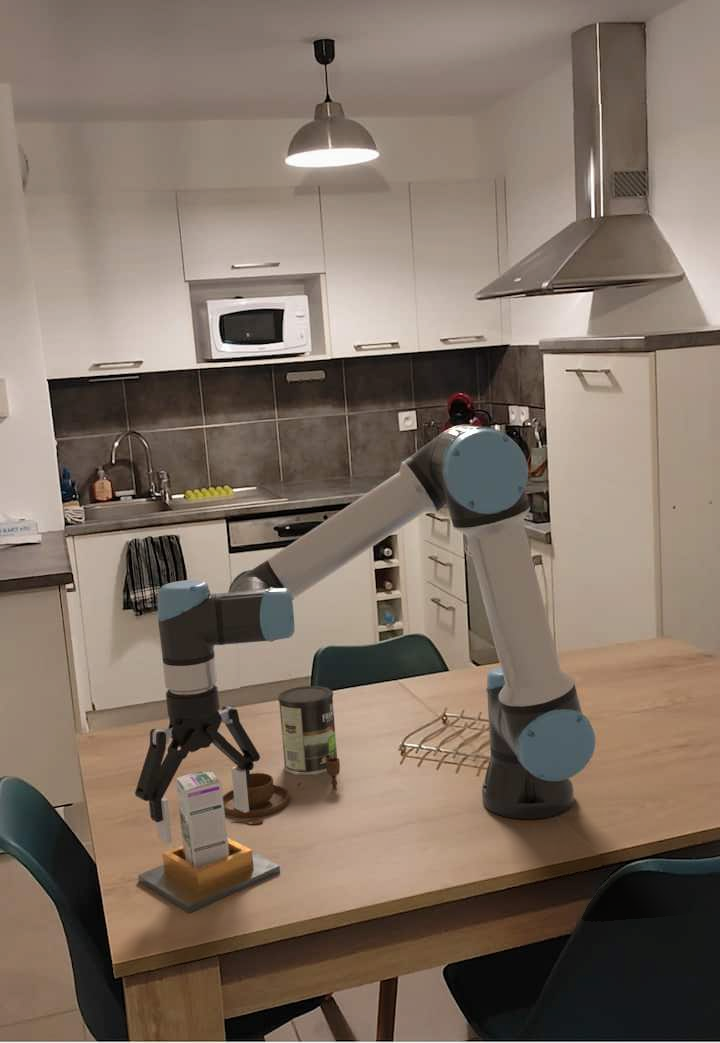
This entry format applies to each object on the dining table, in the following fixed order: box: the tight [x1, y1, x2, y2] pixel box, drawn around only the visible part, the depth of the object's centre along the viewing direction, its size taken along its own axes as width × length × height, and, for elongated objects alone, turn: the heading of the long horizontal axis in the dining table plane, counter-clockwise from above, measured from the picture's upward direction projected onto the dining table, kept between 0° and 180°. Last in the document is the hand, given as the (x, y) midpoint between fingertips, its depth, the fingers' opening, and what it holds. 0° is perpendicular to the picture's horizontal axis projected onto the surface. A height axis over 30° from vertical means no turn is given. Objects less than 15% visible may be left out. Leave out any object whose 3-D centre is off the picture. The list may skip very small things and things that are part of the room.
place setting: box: [223, 757, 341, 826], centre depth 185 cm, size 18×20×6 cm
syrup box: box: [175, 769, 229, 869], centre depth 158 cm, size 6×6×14 cm
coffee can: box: [277, 685, 338, 776], centre depth 200 cm, size 10×10×14 cm
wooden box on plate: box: [137, 836, 281, 914], centre depth 159 cm, size 14×16×4 cm
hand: (204, 824), depth 158 cm, fingers open, 13 cm apart
